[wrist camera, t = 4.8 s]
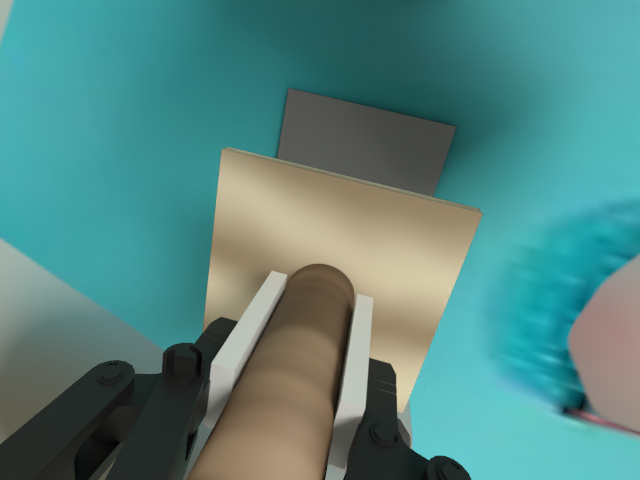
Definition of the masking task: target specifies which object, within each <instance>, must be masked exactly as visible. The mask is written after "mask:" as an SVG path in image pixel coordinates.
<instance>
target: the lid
mask: <svg viewBox="0 0 640 480" xmlns="http://www.w3.org/2000/svg"><path fill="white" fill-rule="evenodd" d="M482 215H483V213H482V212H481V211H480V209H479V208H475V207H470V206H466V205H462V204H458V203H454V202H450V201H446V200H442V199H438V198H434V197H430V196H426V195H422V194H418V193H414V192H410V191H406V190H401V189H397V188H393V187H389V186H385V185H381V184H377V183H373V182H369V181H365V180H361V179H357V178H353V177H349V176H345V175H341V174H337V173H332V172H328V171H324V170H320V169H316V168H312V167H308V166H304V165H300V164H296V163H292V162H288V161H284V160H280V159H276V158H272V157H267V156H263V155H259V154H255V153H251V152H247V151H243V150H239V149H235V148H231V147H227V148H224V149H222V151H221V161H220V170H219V180H218V189H217V199H216V208H215V218H214V228H213V237H212V247H211V256H210V266H209V275H208V285H207V294H206V304H205V313H204V323H203V332H204V331H205V329H206V328H207V327H208V325H209V324H210V323H211V322H213V321H214V320H216V319H218V318H220V317H224V318H228V319H231V320H235V321H239V320H240V319H241V317H242V316H243V314H244V313H245V311H246V309H247V308H248V306H249V305H250V303H251V302H252V300H253V299H254V297H255V296H256V294H257V293H258V291H259V290H260V288H261V287H262V285H263V284H264V282H265V281H266V279H267V277H268V276H269V274H270V273H271V271H275V272H279V273H283V274H286V275H287V280H286V285H285V290H284V294H283V296H282V298H281V299H280V301H279V303H278V305H277V307H276V309H275V311H274V313H273V315H272V317H271V319H270V321H269V322H268V324H267V326H266V328H265V330H264V332H263V334H262V336H261V338H260V340H259V342H258V344H257V345H256V347H255V349H254V351H253V353H252V355H251V357H250V359H249V361H248V363H247V365H246V366H245V368H244V370H243V372H242V374H241V376H240V378H239V380H238V382H237V384H236V386H235V388H234V389H233V391H232V393H231V395H230V397H229V399H228V401H227V403H226V405H225V407H224V409H223V411H222V412H221V414H220V416H219V418H218V420H217V422H216V424H215V426H214V428H213V430H212V432H211V434H210V436H209V437H208V439H207V441H206V443H205V445H204V447H203V449H202V451H201V453H200V455H199V457H198V458H197V461H196V462H195V464H194V466H193V468H192V470H191V472H190V474H189V476H188V478H187V479H186V480H325V476H326V470H327V465H328V459H329V452H330V446H331V440H332V434H333V424H334V418H335V412H336V406H337V400H338V394H339V388H340V382H341V376H342V370H343V364H344V357H345V351H346V345H347V339H348V333H349V327H350V321H351V315H352V310H353V307H354V303H355V300H356V296H357V294H360V295H364V296H368V297H372V298H373V310H372V324H371V338H370V352H369V358H372V359H376V360H380V361H383V362H387V363H390V364H391V365H392V367H393V369H394V371H395V373H396V387H397V394H396V395H397V412H400V413H403V412H404V409H405V407H406V404H407V402H408V399H409V397H410V394H411V392H412V389H413V387H414V384H415V382H416V379H417V377H418V374H419V372H420V369H421V367H422V364H423V362H424V359H425V357H426V354H427V352H428V349H429V347H430V344H431V342H432V339H433V337H434V334H435V332H436V329H437V327H438V324H439V322H440V319H441V317H442V315H443V312H444V310H445V307H446V305H447V302H448V300H449V297H450V295H451V292H452V290H453V287H454V285H455V282H456V280H457V277H458V275H459V272H460V270H461V267H462V265H463V262H464V260H465V257H466V255H467V252H468V250H469V247H470V245H471V242H472V240H473V237H474V235H475V232H476V230H477V227H478V225H479V222H480V220H481V217H482Z"/></svg>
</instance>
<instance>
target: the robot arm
mask: <svg viewBox="0 0 640 480" xmlns="http://www.w3.org/2000/svg"><path fill="white" fill-rule="evenodd" d="M286 280H287V275H286V274H283V273H279V272H275V271H271V273H270V274H269V276H268V277H267V279H266V281H265V282H264V284H263V285H262V287H261V288H260V290H259V291H258V293H257V294H256V296H255V297H254V299H253V300H252V302H251V303H250V305H249V306H248V308H247V309H246V311H245V313H244V314H243V316H242V317H241V319H240V320H239V321H235V320H231V319H228V318H224V317H220V318H218V319H216V320H214V321H213V322H211V323H210V324H209V325H208V327H207V328H206V329H205V331H204V332H203V333H202V335H201V336H200V337H199V339H198V340H197V341H196V342H195V344H193V343H179V344H175V345H173V346H171V347H169V348H167V350H166V351H165V352H164V353H163V365H162V373H159V374H135V370H134V368H133V367H132V365H130V364H128V363H127V362H124V361H119V360H116V361H108V362H104V363H101V364H99V365H97V366H95V367H94V368H92V369H91V370H90V371H88V372H87V373H86V374H85V375H84V376H83V377H81V378H80V379H79V380H78V381H76V382H75V383H74V384H73V385H72V386H70V387H69V388H68V389H67V390H66V391H64V392H63V393H62V394H61V395H60V396H58V397H57V398H56V399H55V400H53V401H52V402H51V403H50V404H49V405H47V406H46V407H45V408H44V409H43V410H41V411H40V412H39V413H38V414H36V415H35V416H34V417H33V418H32V419H30V420H29V421H28V422H27V423H26V424H24V425H23V426H22V427H21V428H19V429H18V430H17V431H16V432H15V433H14V434H12V435H11V436H10V437H9V438H7V439H6V440H5V441H4V442H3V443H1V444H0V480H98V479H99V478H100V477H101V476H102V474H103V473H104V472H105V471H106V470H107V468H108V467H109V466H110V465H111V464H112V463H113V461H114V460H115V459H116V460H115V462H114V464H113V466H112V468H111V469H110V471H109V473H108V475H107V477H106V479H105V480H183V477H184V475H185V472H186V468H187V466H188V463H189V460H190V457H191V454H192V451H193V448H194V445H195V442H196V439H197V434H198V427H199V425H200V424H201V422H202V420H203V418H204V417H205V421H204V426H206V427H209V428H212V429H213V428H214V426H215V424H216V422H217V420H218V418H219V416H220V414H221V412H222V411H223V409H224V407H225V405H226V403H227V401H228V399H229V397H230V395H231V393H232V391H233V389H234V388H235V386H236V384H237V382H238V380H239V378H240V376H241V374H242V372H243V370H244V368H245V366H246V365H247V363H248V361H249V359H250V357H251V355H252V353H253V351H254V349H255V347H256V345H257V344H258V342H259V340H260V338H261V336H262V334H263V332H264V330H265V328H266V326H267V324H268V322H269V321H270V319H271V317H272V315H273V313H274V311H275V309H276V307H277V305H278V303H279V301H280V299H281V298H282V296H283V294H284V290H285V285H286ZM372 310H373V298H372V297H368V296H364V295H360V294H357V296H356V300H355V303H354V307H353V310H352V315H351V321H350V327H349V333H348V339H347V345H346V351H345V357H344V364H343V370H342V376H341V382H340V388H339V394H338V400H337V406H336V412H335V418H334V424H333V434H332V440H331V446H330V452H329V459H328V464H329V465H333V466H336V467H339V468H342V469H345V466H346V463H347V468H346V473H345V476H344V479H343V480H471V478H470V476H469V474H468V472H467V471H466V470H465V469H464V468H463V466H462V465H460V464H459V463H458V462H456V461H455V460H454V459H451V458H449V457H446V456H435V457H433V458H431V459H430V461H429V460H427V459H426V458H424V457H422V456H421V455H419V454H417V453H416V452H415V451H413V450H412V449H410V448H409V447H408V446H407V445H406V444H405V442H404V441H403V438H402V436H401V434H400V432H399V430H398V419H397V395H396V394H397V387H396V373H395V371H394V369H393V367H392V365H391V364H390V363H387V362H383V361H380V360H376V359H372V358H369V352H370V338H371V324H372Z"/></svg>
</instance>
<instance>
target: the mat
mask: <svg viewBox="0 0 640 480" xmlns="http://www.w3.org/2000/svg"><path fill="white" fill-rule="evenodd" d="M456 128H457V127H456V126H452V125H448V124H444V123H439V122H435V121H431V120H426V119H422V118H417V117H413V116H409V115H404V114H400V113H396V112H391V111H387V110H383V109H378V108H374V107H370V106H365V105H361V104H357V103H352V102H348V101H344V100H339V99H335V98H331V97H326V96H322V95H318V94H313V93H309V92H305V91H300V90H296V89H292V88H289V89H288V95H287V101H286V107H285V113H284V119H283V125H282V131H281V137H280V143H279V149H278V155H277V159H280V160H284V161H288V162H292V163H296V164H300V165H304V166H308V167H312V168H316V169H320V170H324V171H328V172H332V173H337V174H341V175H345V176H349V177H353V178H357V179H361V180H365V181H369V182H373V183H377V184H381V185H385V186H389V187H393V188H397V189H401V190H406V191H410V192H414V193H418V194H422V195H426V196H430V197H433V196H434V193H435V190H436V187H437V184H438V181H439V178H440V175H441V172H442V169H443V166H444V163H445V160H446V157H447V154H448V151H449V148H450V145H451V142H452V139H453V136H454V133H455V131H456Z"/></svg>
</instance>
